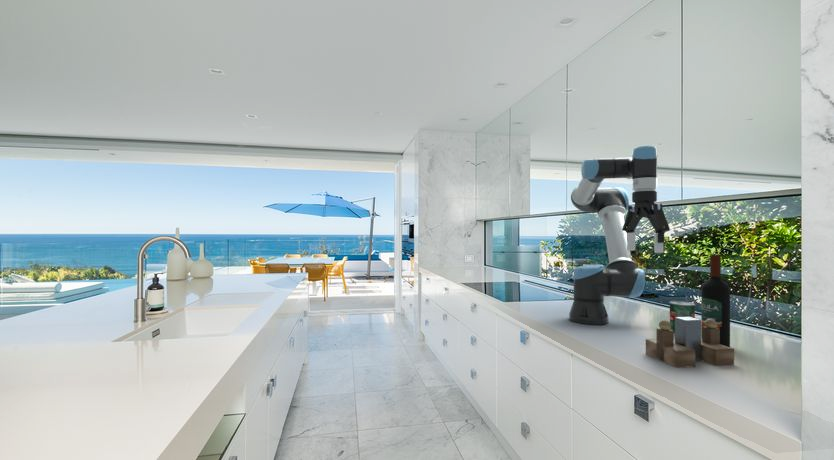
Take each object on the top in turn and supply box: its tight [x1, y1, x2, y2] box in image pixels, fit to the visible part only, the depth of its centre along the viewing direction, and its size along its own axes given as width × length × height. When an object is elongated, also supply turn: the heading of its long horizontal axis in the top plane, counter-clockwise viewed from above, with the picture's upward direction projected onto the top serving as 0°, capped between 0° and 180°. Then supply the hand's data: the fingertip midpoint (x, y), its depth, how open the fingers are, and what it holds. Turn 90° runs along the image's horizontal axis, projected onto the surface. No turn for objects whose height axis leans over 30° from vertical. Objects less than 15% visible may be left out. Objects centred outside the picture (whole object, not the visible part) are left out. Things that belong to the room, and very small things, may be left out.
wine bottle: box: [700, 254, 731, 348], centre depth 128 cm, size 8×8×30 cm
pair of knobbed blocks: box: [645, 319, 735, 368], centre depth 115 cm, size 12×18×12 cm, turn 97°
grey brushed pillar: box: [674, 317, 702, 362], centre depth 115 cm, size 4×5×12 cm
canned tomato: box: [669, 300, 696, 334], centre depth 144 cm, size 8×8×11 cm
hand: (644, 251), depth 136 cm, fingers open, 13 cm apart
